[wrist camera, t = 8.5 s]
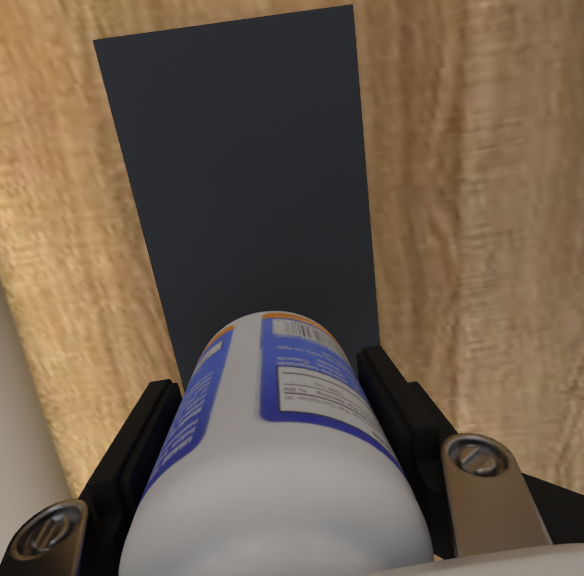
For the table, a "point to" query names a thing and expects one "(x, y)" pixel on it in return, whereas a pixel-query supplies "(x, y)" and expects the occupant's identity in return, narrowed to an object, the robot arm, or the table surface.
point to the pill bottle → (275, 467)
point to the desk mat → (249, 173)
